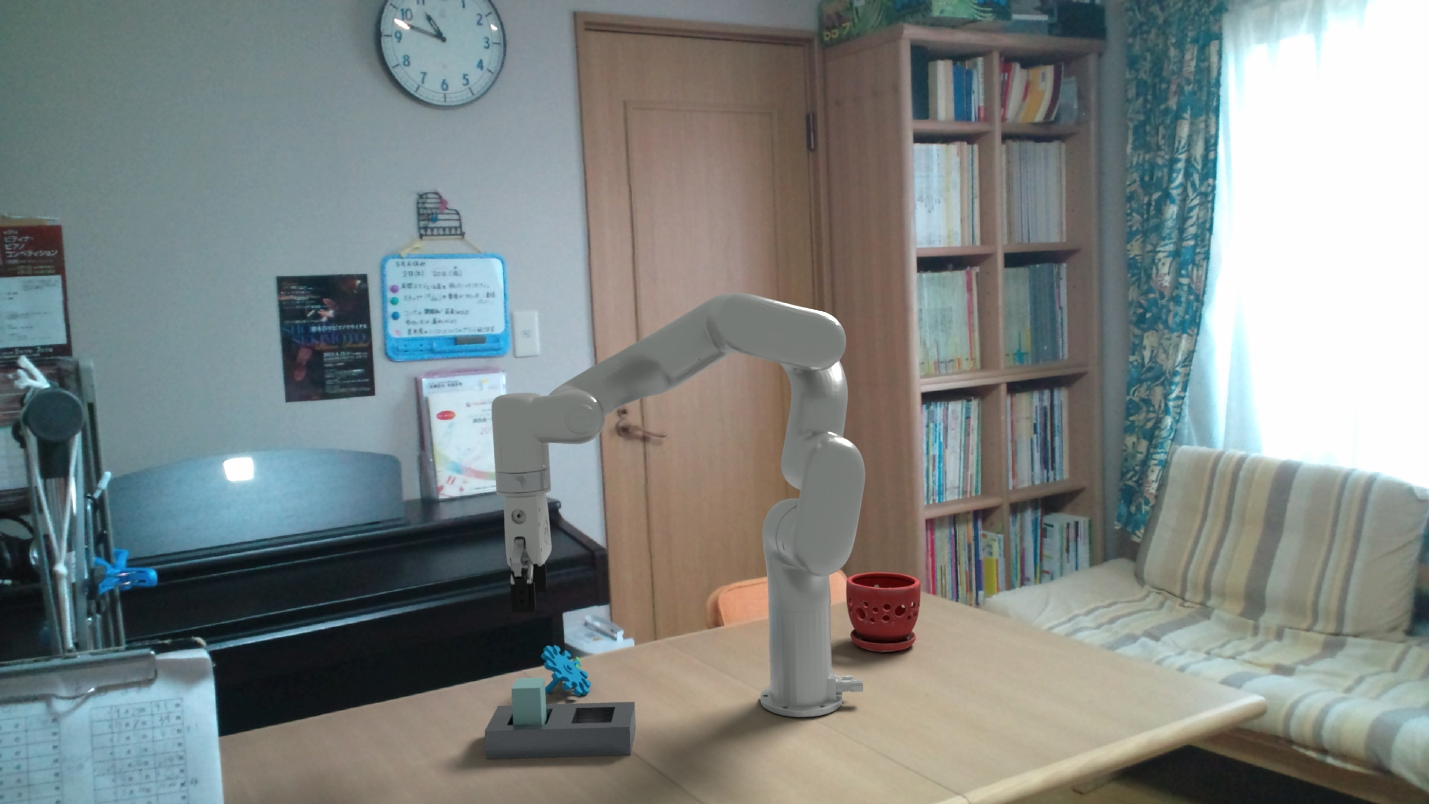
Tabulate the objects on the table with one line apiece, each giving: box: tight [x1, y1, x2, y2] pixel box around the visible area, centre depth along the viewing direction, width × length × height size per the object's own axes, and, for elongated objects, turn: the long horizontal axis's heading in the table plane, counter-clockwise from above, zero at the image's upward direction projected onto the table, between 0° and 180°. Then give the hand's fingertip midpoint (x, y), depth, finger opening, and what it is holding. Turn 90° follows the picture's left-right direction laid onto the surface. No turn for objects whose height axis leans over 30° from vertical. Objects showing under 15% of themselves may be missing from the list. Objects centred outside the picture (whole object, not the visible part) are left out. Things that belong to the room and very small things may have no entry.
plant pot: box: [845, 571, 922, 654], centre depth 184 cm, size 13×13×12 cm
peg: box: [511, 676, 547, 725], centre depth 146 cm, size 4×4×9 cm
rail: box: [484, 701, 637, 760], centre depth 146 cm, size 20×9×4 cm, turn 90°
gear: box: [540, 644, 592, 697], centre depth 166 cm, size 11×6×10 cm
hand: (530, 601), depth 145 cm, fingers open, 9 cm apart
